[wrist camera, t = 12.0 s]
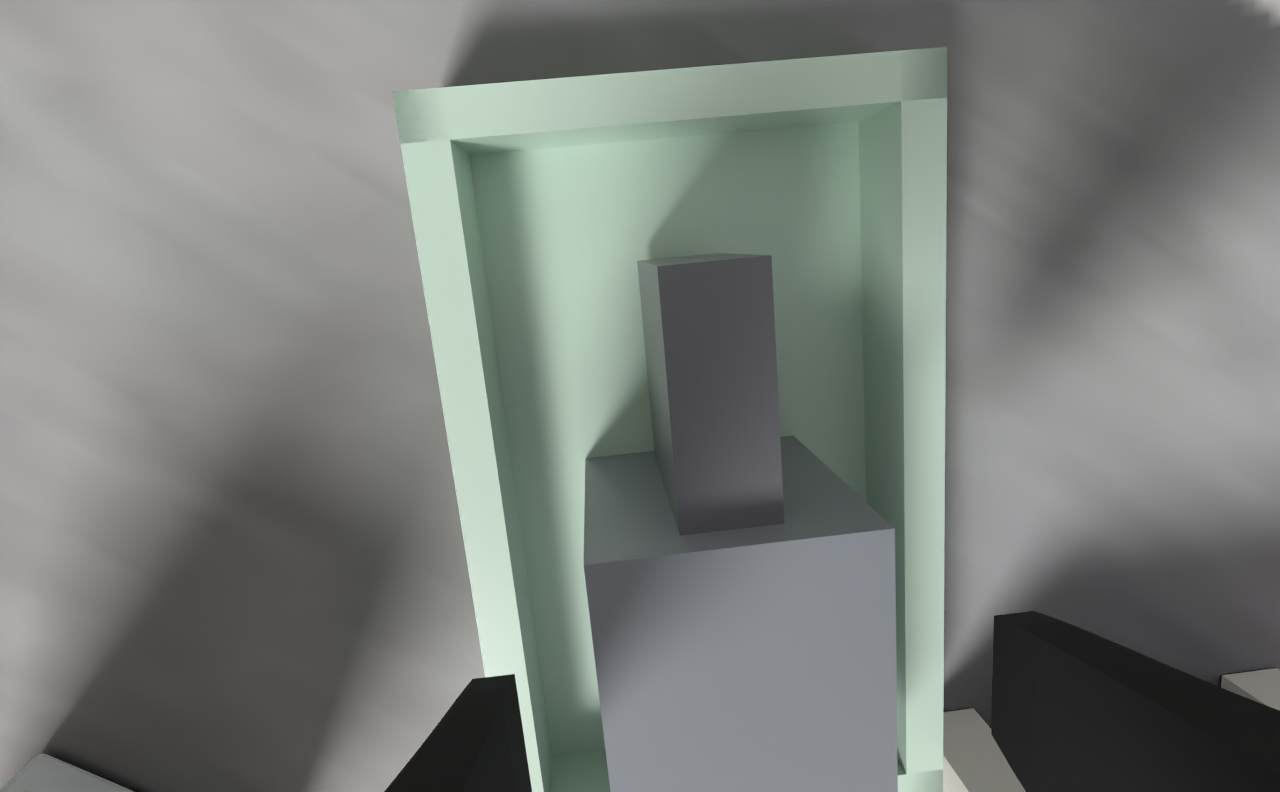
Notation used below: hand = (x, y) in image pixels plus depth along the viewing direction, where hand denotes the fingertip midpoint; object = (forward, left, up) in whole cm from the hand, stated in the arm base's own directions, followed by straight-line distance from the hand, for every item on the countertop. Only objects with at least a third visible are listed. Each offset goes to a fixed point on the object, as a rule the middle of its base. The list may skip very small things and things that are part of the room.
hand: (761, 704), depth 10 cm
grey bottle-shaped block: (0, -1, -5) cm, 5 cm away
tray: (0, -2, -6) cm, 6 cm away
